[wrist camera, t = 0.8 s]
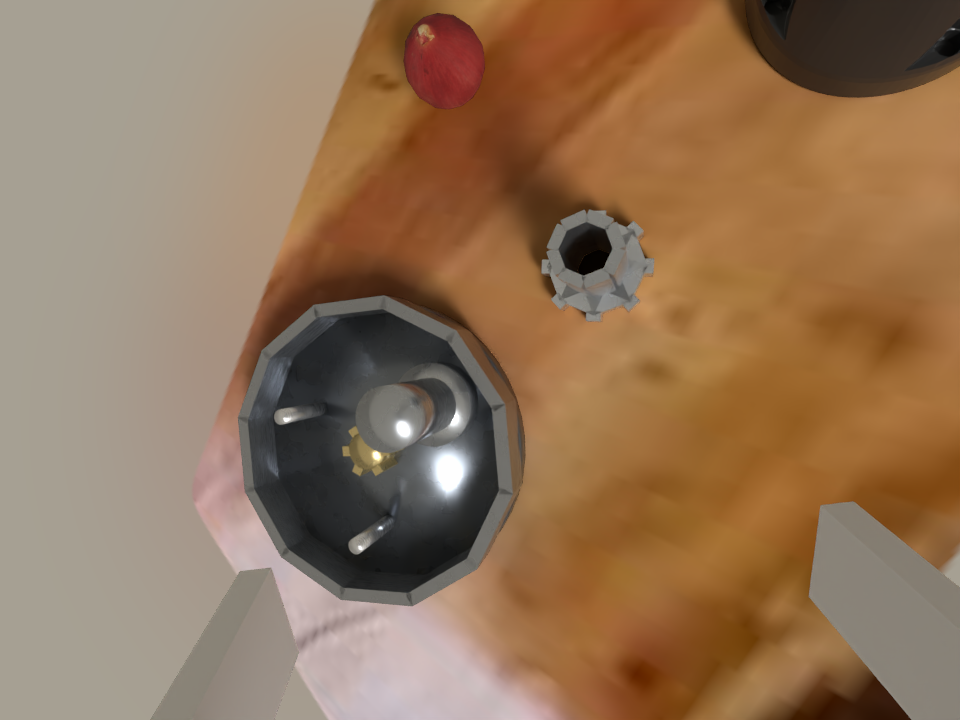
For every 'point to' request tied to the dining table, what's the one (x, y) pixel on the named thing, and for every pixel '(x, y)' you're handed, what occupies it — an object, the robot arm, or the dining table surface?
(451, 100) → the onion
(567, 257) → the planet gear
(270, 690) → the robot arm
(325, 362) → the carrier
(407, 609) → the dining table surface
